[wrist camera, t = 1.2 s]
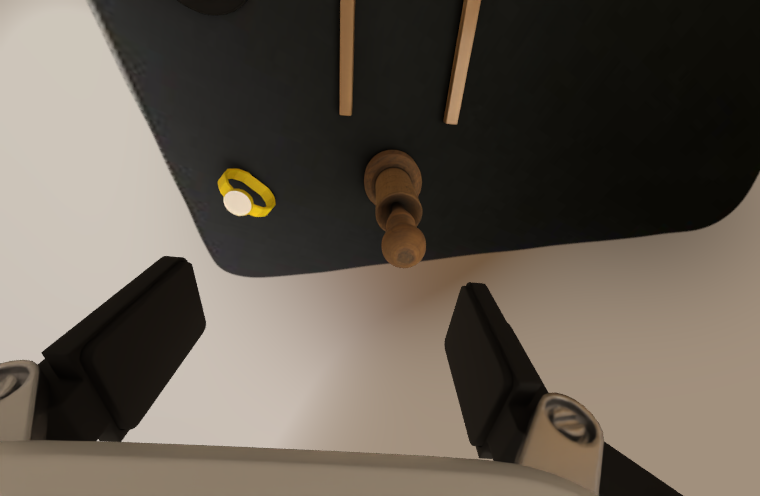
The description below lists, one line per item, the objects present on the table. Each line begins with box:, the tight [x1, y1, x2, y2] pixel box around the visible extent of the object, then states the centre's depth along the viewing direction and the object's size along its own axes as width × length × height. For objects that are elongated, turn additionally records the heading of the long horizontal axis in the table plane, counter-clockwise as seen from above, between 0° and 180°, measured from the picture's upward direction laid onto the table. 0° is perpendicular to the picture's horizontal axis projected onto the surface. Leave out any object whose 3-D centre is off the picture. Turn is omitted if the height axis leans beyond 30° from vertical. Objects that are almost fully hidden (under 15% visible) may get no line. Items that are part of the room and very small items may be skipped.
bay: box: [340, 0, 481, 124], centre depth 27 cm, size 12×13×2 cm
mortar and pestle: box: [364, 150, 426, 268], centre depth 26 cm, size 7×6×18 cm
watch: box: [218, 168, 276, 217], centre depth 32 cm, size 6×3×6 cm, turn 45°
